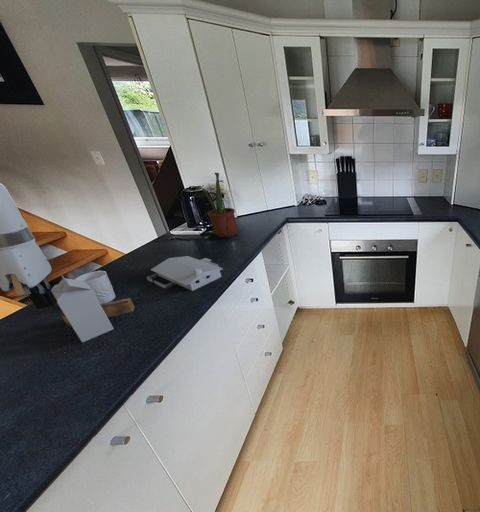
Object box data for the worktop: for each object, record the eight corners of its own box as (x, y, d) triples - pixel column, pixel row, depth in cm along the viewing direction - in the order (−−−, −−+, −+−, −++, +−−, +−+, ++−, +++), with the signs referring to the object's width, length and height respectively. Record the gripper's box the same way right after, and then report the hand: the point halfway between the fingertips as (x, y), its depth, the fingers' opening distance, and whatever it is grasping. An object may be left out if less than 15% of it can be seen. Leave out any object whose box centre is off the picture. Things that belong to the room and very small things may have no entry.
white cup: (118, 291, 103) (106, 268, 99) (117, 301, 98) (105, 277, 94) (89, 299, 99) (76, 275, 94) (87, 309, 93) (72, 284, 89)
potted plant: (237, 230, 162) (222, 170, 146) (244, 238, 151) (229, 174, 136) (203, 237, 152) (183, 173, 136) (209, 246, 141) (188, 178, 126)
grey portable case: (238, 269, 120) (234, 254, 116) (182, 296, 101) (176, 279, 98) (203, 257, 130) (199, 243, 127) (146, 280, 111) (140, 264, 108)
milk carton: (107, 321, 88) (78, 270, 80) (114, 329, 85) (85, 277, 76) (76, 333, 83) (42, 280, 74) (82, 343, 79) (48, 288, 71)
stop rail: (67, 326, 86) (60, 315, 84) (72, 321, 88) (64, 309, 86) (132, 312, 93) (127, 300, 90) (134, 307, 95) (129, 296, 93)
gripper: (2, 230, 65) (41, 294, 73) (-46, 254, 53) (7, 327, 61) (47, 225, 68) (80, 287, 76) (10, 248, 57) (54, 318, 64)
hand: (47, 305), depth 69 cm, fingers closed
